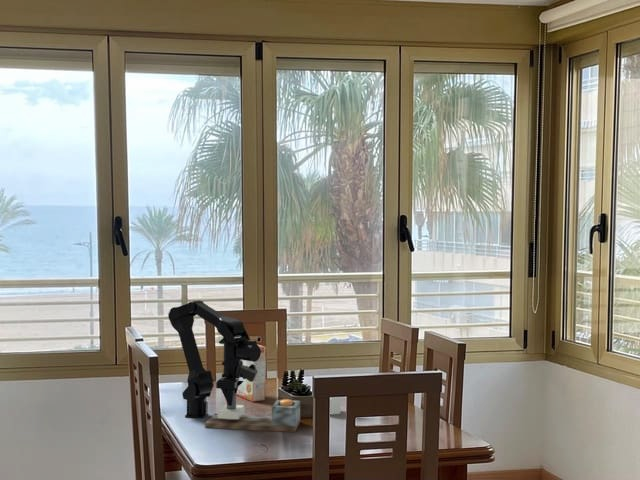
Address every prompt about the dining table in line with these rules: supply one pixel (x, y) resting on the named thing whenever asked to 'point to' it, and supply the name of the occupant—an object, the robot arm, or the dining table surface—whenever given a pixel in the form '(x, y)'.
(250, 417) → the rail board
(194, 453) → the dining table surface
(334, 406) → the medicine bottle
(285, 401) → the button
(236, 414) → the carriage
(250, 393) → the cracker box
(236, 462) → the dining table surface
